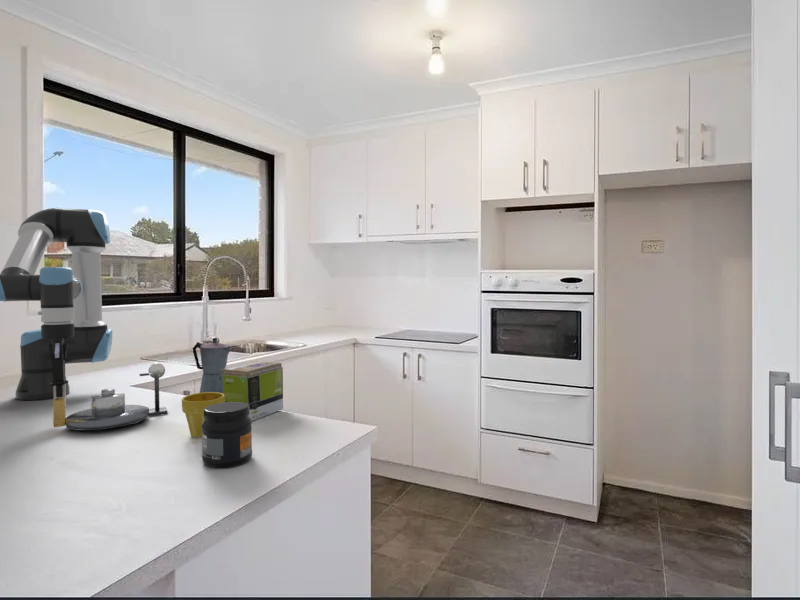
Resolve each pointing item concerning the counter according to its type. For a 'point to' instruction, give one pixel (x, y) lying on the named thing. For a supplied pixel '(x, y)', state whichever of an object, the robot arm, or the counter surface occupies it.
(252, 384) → the tea box
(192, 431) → the plant pot
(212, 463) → the supplement container
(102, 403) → the cover
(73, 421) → the turntable
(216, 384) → the moka pot
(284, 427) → the counter surface
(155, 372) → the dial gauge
